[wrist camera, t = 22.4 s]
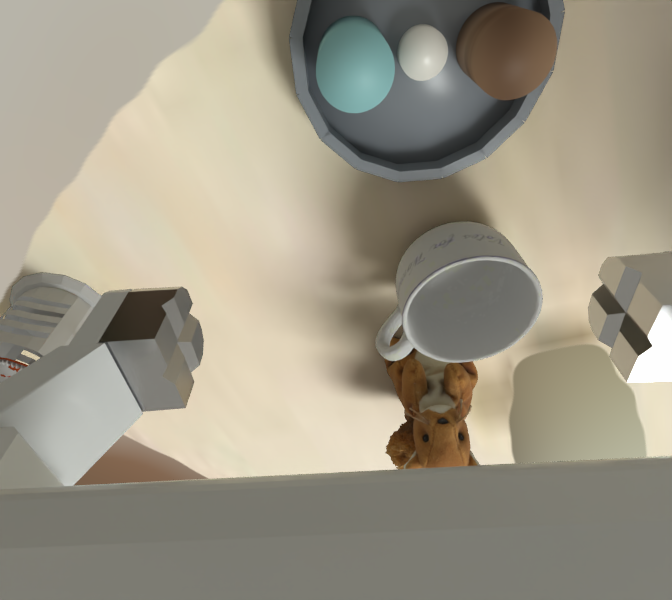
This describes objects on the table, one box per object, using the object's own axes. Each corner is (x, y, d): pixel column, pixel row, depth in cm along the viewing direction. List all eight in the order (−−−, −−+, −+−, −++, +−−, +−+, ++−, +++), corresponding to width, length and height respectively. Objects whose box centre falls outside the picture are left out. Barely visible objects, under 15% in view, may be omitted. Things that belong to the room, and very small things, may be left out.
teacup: (490, 183, 36) (523, 233, 30) (526, 280, 42) (560, 338, 36) (339, 255, 40) (340, 312, 34) (390, 334, 46) (399, 395, 40)
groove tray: (573, -137, 25) (594, -144, 23) (522, 158, 35) (534, 171, 33) (275, -103, 26) (270, -108, 24) (310, 176, 36) (308, 189, 34)
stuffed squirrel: (483, 321, 45) (528, 432, 35) (459, 411, 54) (490, 521, 43) (383, 321, 45) (398, 432, 35) (376, 411, 54) (386, 522, 43)
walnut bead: (532, -2, 28) (565, 5, 24) (520, 77, 31) (548, 96, 27) (458, 6, 28) (479, 14, 24) (453, 84, 31) (471, 103, 27)
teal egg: (386, 12, 28) (394, 22, 24) (386, 89, 31) (394, 110, 27) (314, 18, 28) (311, 30, 24) (321, 95, 31) (319, 116, 27)
